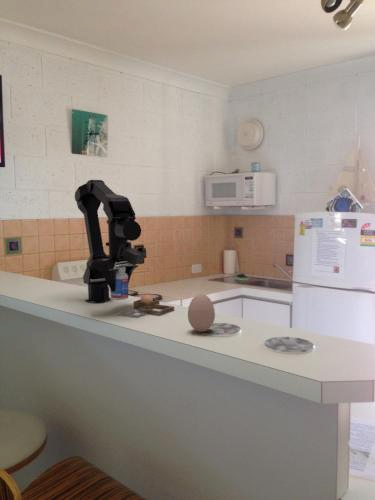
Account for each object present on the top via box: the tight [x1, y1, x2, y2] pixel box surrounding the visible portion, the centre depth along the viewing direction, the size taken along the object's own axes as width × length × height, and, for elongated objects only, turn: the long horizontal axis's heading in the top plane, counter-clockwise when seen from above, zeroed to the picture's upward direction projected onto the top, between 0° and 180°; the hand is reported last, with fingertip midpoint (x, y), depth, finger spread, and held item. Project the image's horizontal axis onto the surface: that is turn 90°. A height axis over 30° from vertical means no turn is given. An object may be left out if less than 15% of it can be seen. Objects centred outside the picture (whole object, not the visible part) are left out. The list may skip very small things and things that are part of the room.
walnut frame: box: [133, 298, 160, 310], centre depth 145 cm, size 6×6×2 cm
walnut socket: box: [138, 304, 175, 317], centre depth 140 cm, size 8×8×1 cm
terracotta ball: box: [139, 294, 154, 303], centre depth 145 cm, size 4×4×4 cm
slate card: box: [118, 310, 148, 318], centre depth 136 cm, size 7×5×1 cm
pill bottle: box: [110, 265, 130, 301], centre depth 141 cm, size 6×5×10 cm
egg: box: [187, 293, 216, 333], centre depth 116 cm, size 7×7×10 cm
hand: (119, 289), depth 141 cm, fingers closed on pill bottle, 5 cm apart
